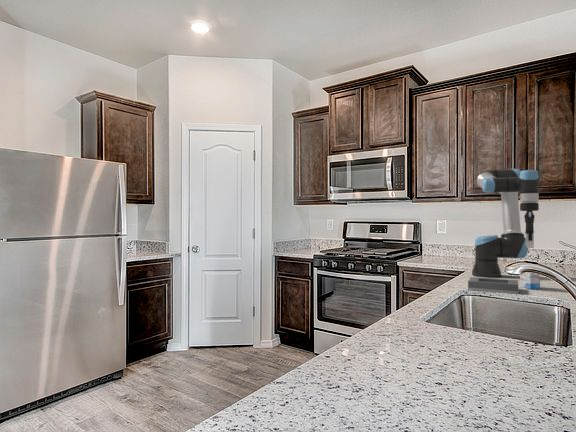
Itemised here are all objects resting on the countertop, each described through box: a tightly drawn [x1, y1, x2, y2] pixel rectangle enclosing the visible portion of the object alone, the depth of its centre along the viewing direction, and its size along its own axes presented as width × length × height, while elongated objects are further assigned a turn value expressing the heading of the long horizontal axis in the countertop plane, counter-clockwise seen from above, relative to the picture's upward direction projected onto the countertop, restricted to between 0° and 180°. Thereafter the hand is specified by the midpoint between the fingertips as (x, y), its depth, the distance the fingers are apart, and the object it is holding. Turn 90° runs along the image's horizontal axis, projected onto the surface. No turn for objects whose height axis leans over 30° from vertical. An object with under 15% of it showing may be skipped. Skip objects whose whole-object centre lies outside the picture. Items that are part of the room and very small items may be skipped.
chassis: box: [467, 276, 519, 295], centre depth 176 cm, size 14×20×4 cm
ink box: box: [519, 273, 541, 290], centre depth 179 cm, size 9×5×12 cm, turn 179°
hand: (529, 247), depth 179 cm, fingers open, 13 cm apart
